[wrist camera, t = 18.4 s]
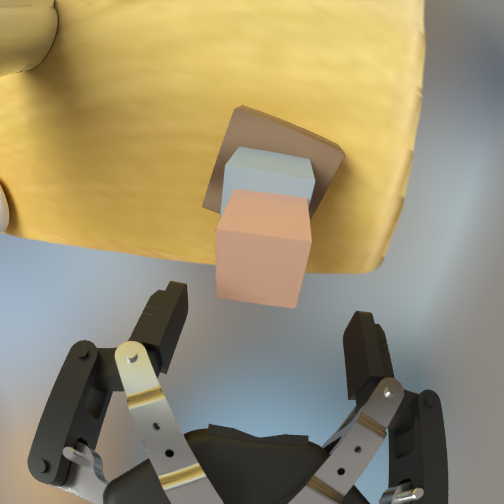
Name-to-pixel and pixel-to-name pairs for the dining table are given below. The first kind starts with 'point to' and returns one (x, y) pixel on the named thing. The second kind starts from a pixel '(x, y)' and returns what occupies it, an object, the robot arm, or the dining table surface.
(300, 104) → the dining table surface
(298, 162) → the slate block
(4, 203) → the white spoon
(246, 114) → the walnut base block
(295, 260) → the terracotta block
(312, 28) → the dining table surface
